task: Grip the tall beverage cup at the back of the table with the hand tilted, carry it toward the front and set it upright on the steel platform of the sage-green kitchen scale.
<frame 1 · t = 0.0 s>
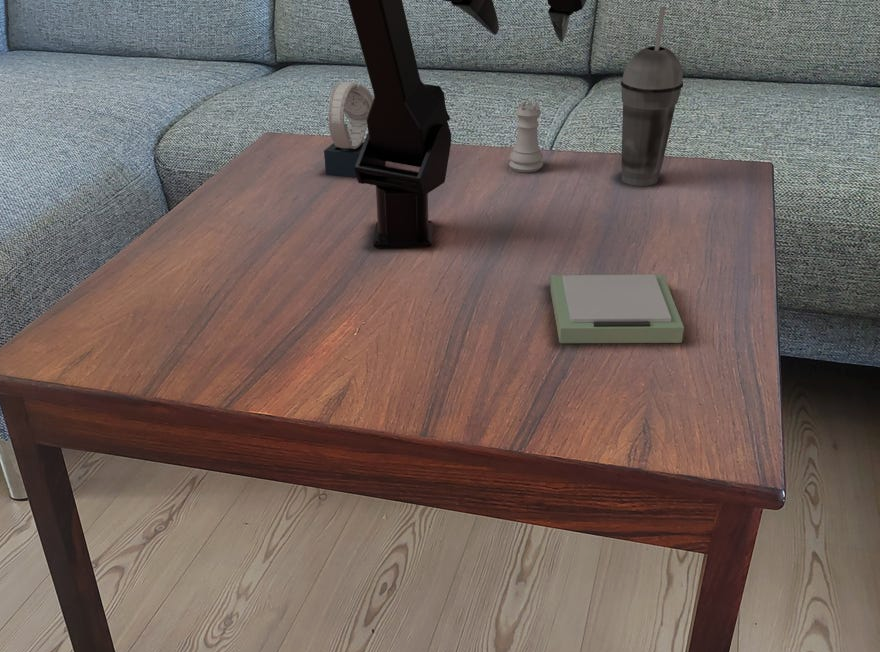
hand: (529, 35, 117), 15 cm above the table, tool tilted 35°, fingers open, 9 cm apart
rook chess piece: (525, 169, 122), on the table
beverage cup: (639, 181, 117), on the table
scale: (612, 314, 89), on the table
watch: (351, 171, 124), on the table
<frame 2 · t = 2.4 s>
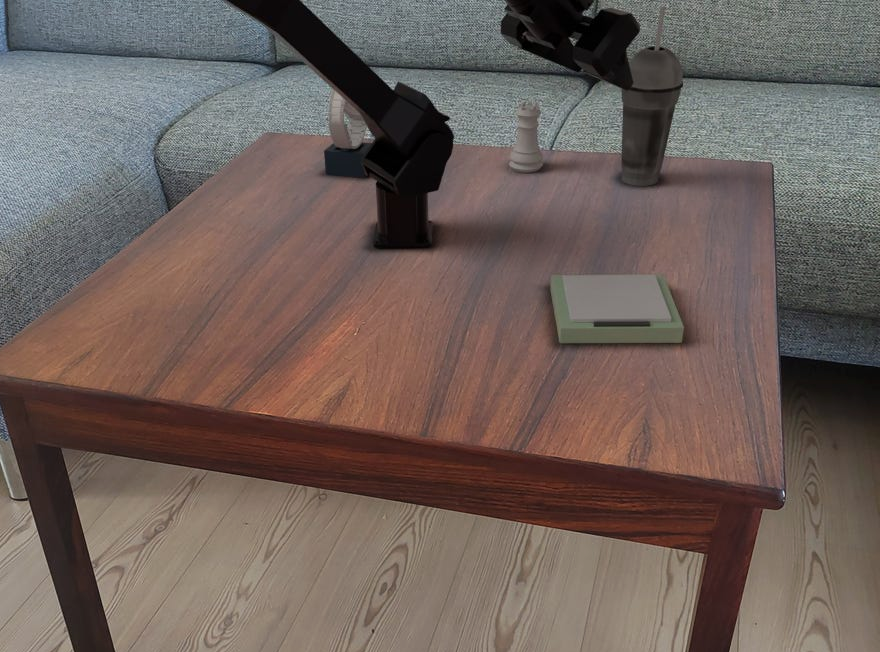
hand: (604, 77, 107), 13 cm above the table, tool tilted 45°, fingers open, 9 cm apart
nothing on the table moved.
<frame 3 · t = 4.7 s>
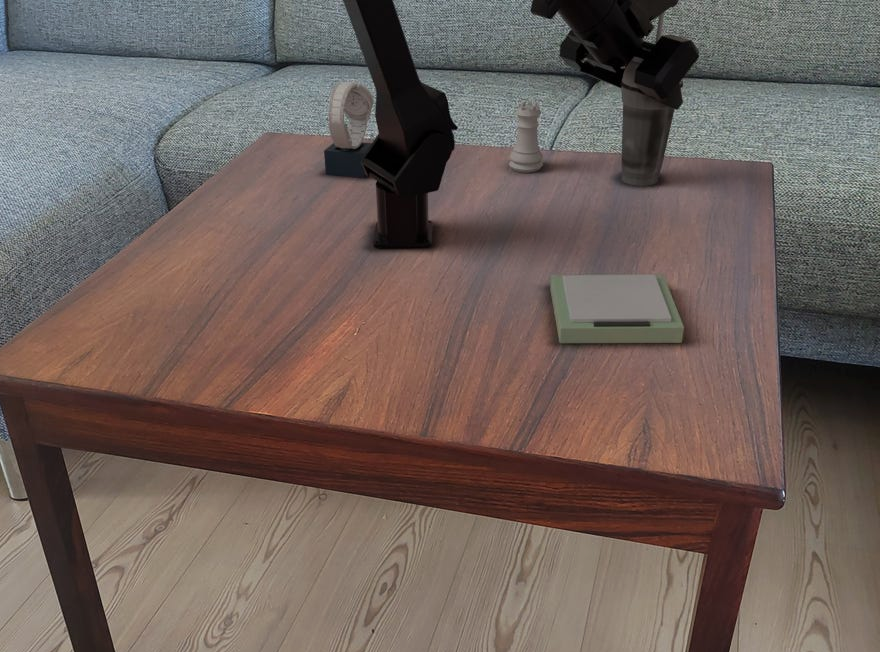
hand: (659, 98, 112), 10 cm above the table, tool tilted 45°, fingers closed on beverage cup, 7 cm apart
beverage cup: (639, 181, 117), on the table, touching gripper
everything else where it was.
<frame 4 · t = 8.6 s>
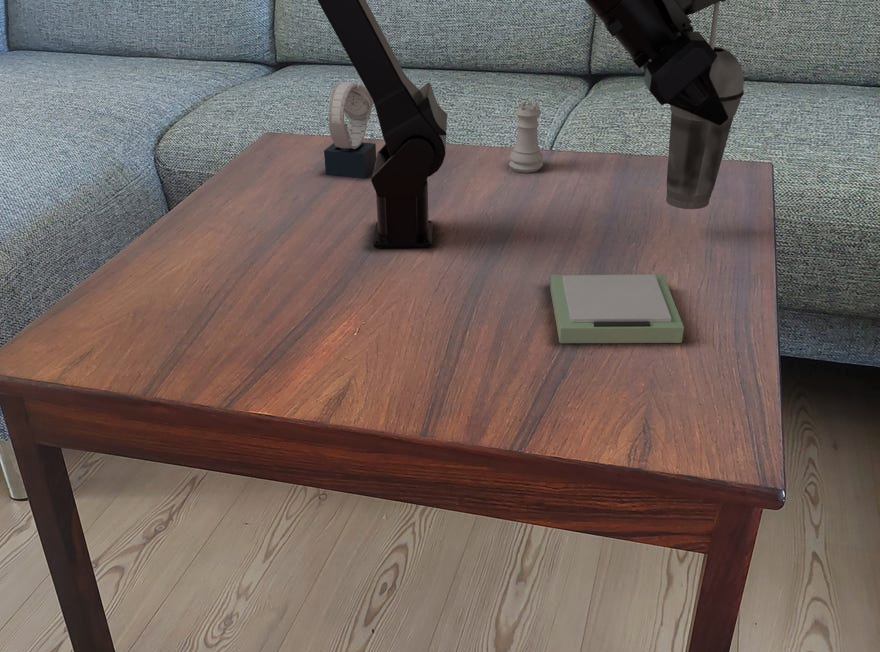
hand: (716, 110, 95), 13 cm above the table, tool tilted 45°, fingers closed on beverage cup, 7 cm apart
beverage cup: (687, 203, 101), point 4 cm above the table, touching gripper
everything else where it was.
when the fingers open (12 cm above the table, at t = 12.5 s): beverage cup stays where it is, resting on scale.
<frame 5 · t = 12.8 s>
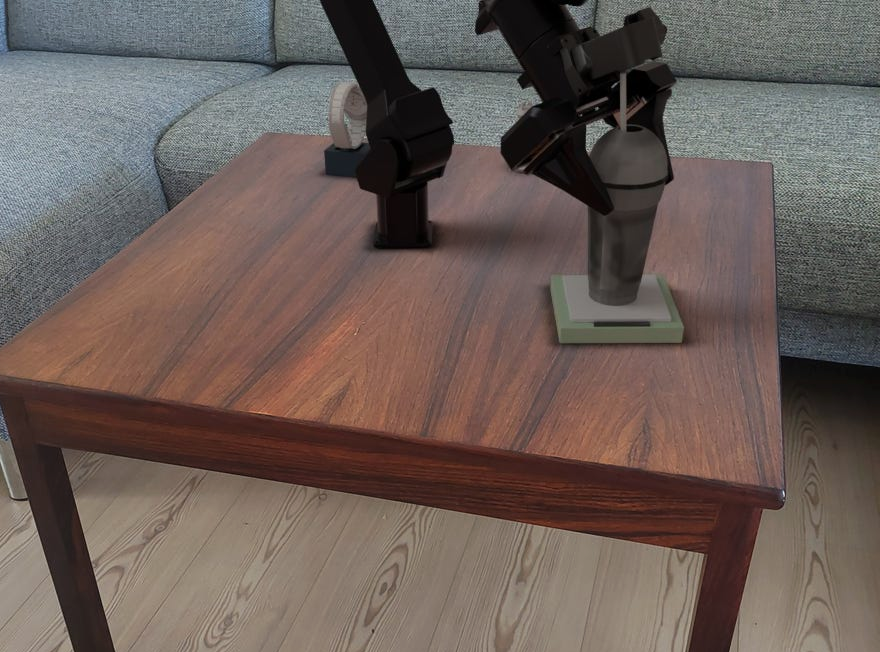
hand: (640, 197, 81), 12 cm above the table, tool tilted 45°, fingers open, 9 cm apart
beverage cup: (612, 296, 88), point 2 cm above the table, touching scale
everything else where it was.
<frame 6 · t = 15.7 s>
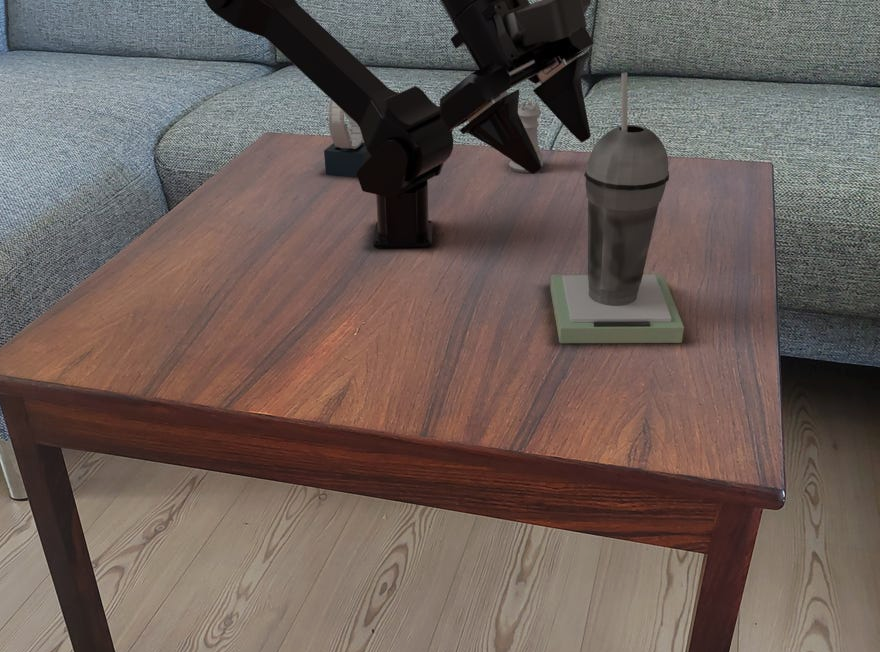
hand: (562, 155, 89), 12 cm above the table, tool tilted 40°, fingers open, 9 cm apart
nothing on the table moved.
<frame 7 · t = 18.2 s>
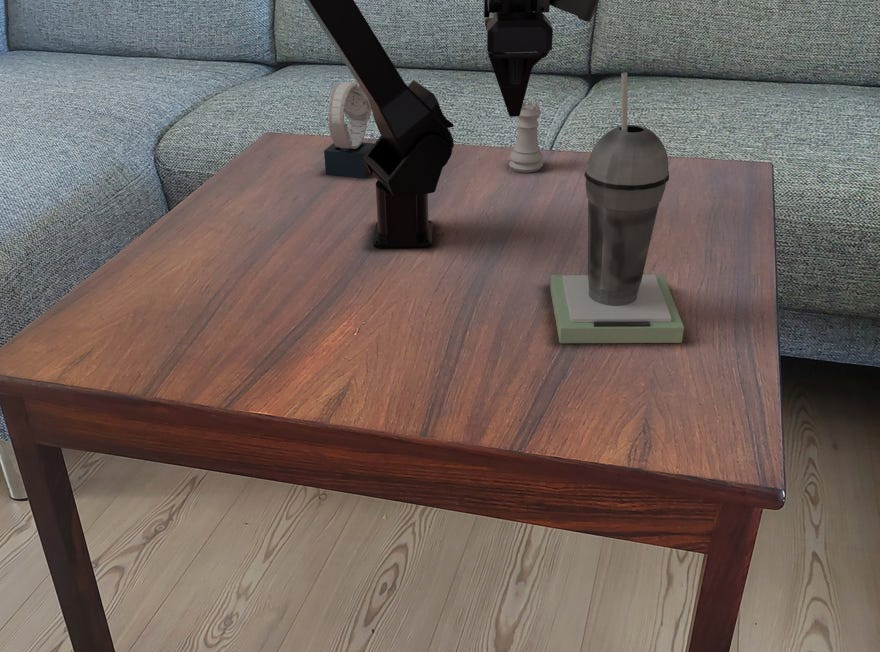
hand: (512, 103, 101), 13 cm above the table, tool pointing down, fingers open, 9 cm apart
nothing on the table moved.
at the end: beverage cup inside the target area on the scale (0.3 cm from its centre), point 1.8 cm above the scale's base; beverage cup tilted 0°; the gripper is holding nothing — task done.
